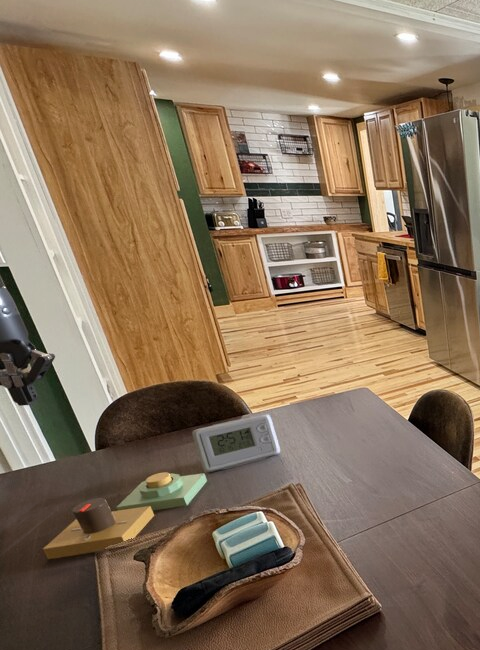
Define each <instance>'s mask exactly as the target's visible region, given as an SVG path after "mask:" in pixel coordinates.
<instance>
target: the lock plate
mask: <svg viewBox="0 0 480 650" xmlns="http://www.w3.org/2000/svg"><path fill="white" fill-rule="evenodd" d="M111 512H112V514H113V516H114V518H115V520H116V521H115V523H114V524H113V525H112V526H110V527H108V528H106V529H104V530H102V531H99V532H95V533H84V532H83V530H82V528H81V527H80V525H79V523H78V521H77V519H76V518H75V519H74V521H72V522H71V523H70V524H69V525H68V526H66V527H65V528H64V529H62V531H61V532H60V533H59V534H58V535H57V536H56V537H54V538H53V539H52V540H51V541H50V542H49V543H47V545H45V546H44V547H43V548H42V551H43V552H44V554H45V556H46V558H47V560H53V559H59V558H64V557H65V558H66V557H71V556H78V555H84V554H91V553H95V552H96V553H97V552H101V551H100V550H102V549H103V548H104V549H105V548H106V547H108V546H110V545H114V544H118V543H121V542H124V541H126V540H128V539H131V538H132V539H133V538H134V539H135V538H136V537H137V536H138V535H139V534H140V533H141V531H142V530H143V529H144V527H146V526H147V524H148V523H149V522H150V521H151V520H152V519H153V517H155V514H154V510H153V511H152V509H151V507H150V506H147V507H140V508H133V509H126V510H119V511H118V510H114V511H112V510H111ZM134 539H133V540H134ZM102 551H103V550H102Z"/></svg>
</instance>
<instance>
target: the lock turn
mask: <svg viewBox="0 0 480 650" xmlns="http://www.w3.org/2000/svg"><path fill="white" fill-rule="evenodd" d="M72 513H73V515H74V517H75V520H76V519H77V521H78V523H79V525H80V527H81V528H82V530H83V532H84V533H95V532H99V531H102V530H104V529H106V528H108V527H110V526H112V525H113V524H114V523H115V521H116V520H115V518H114V516H113V514H112V510H111V508H110V506H109V503H108V501H107V499H106V498H104V497H98V498H97V497H96V498H92V499H89V500H86V501H83V502H80V503H78V504H77V505H75V506H74V507H72Z"/></svg>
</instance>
